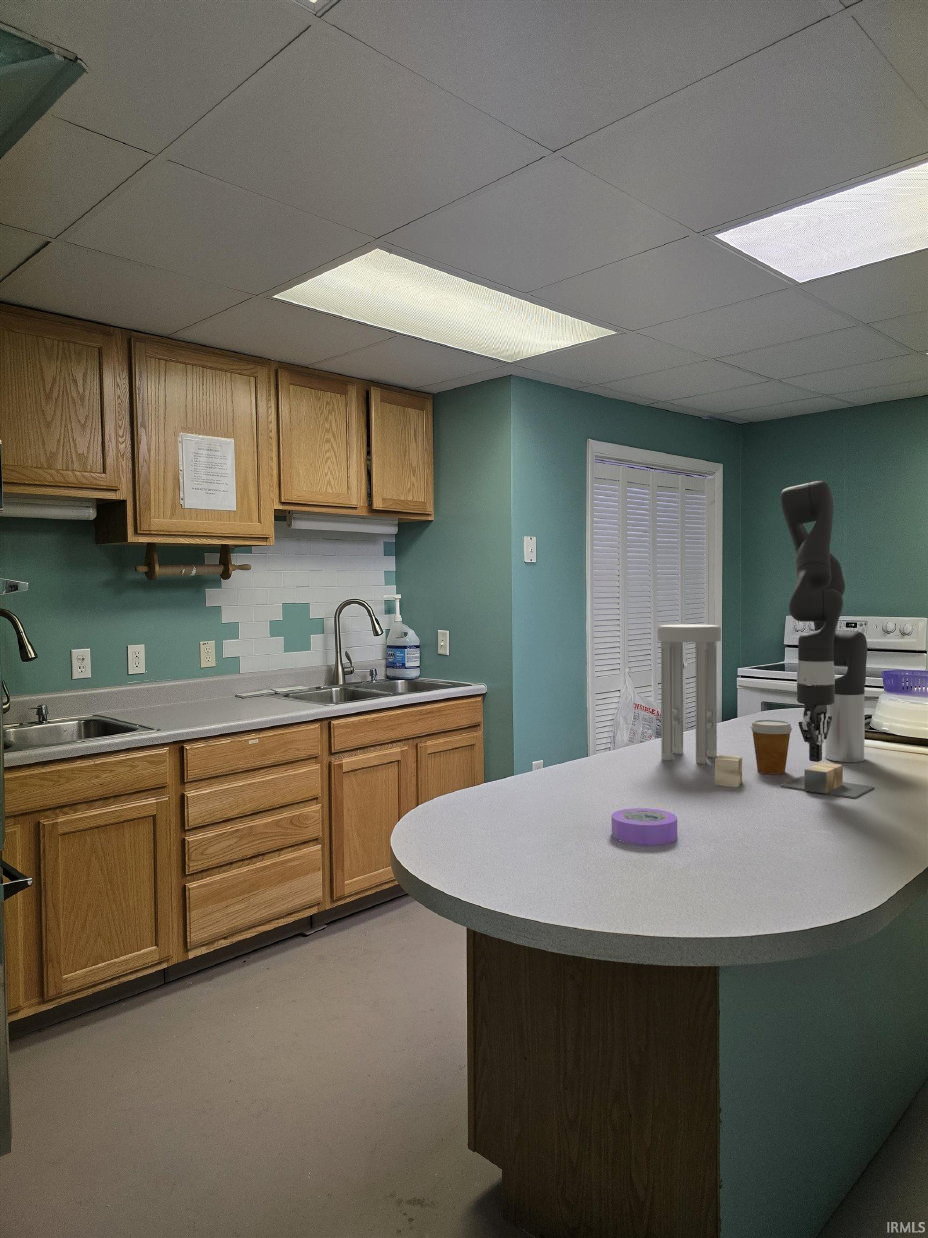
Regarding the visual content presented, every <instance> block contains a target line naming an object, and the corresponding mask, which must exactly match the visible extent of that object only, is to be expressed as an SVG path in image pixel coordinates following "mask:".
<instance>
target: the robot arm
mask: <svg viewBox="0 0 928 1238" xmlns="http://www.w3.org/2000/svg"><path fill="white" fill-rule="evenodd" d="M833 499H834V498H833V494H832V491H831V488H830V486H829V484H828V483H827V482H826V481H824V480H818V481H817V480H816V481H812V482H806V483H803V484H799V485H794V486H790V487H789V486H788V487H786V488H784V489H782V491H781V493H780V506H781V511H782V514H783V517H784V520H785V523H786V525H787V528H788V532H789V534H790V538H791V540H792V543H793V546H794V550H795V553H796V559H795V565H796V566H795V567H796V569H795V570H796V582H795V585H794V587H793V592H792V594H791V596H790V599H789V604H788V610H789V614H790V616H791V617H792V618H793V619H794V620H796V622H803V623H807V622H808V623H809V622H810V623H811V622H812V623H813V628H814V631H810V632H805V633H802V634H800V635H799V637H798V641H797V642H798V643H797V645H798V646H797V655H798V656H797V660H798V661H797V666H796V667H797V668H796V701H797V703H798V704H802V705H804V710H803V713H802V717H803V718H802V719H803V720H799V721H798V727H799V730H800V733H801V735H802V739H803V741H804V743H807V744H808V746H809V747H808V750H809V751H808V757H809V758H808V760H809V761H810V762H813V763H814V762H815V763H820V762H822V761H823V744H824V743H825V745H824V746H825V747H824V751H825V752H824V758H825V759H827V760H830V761H833V762H840V763H842V762H843V763H861V762H864V761H865V710H866V709H865V691H866V690H865V688H866V687H865V686H866V680H867V678H866V677H867V661H868V660H867V659H868V641H867V637H866V635H865V634H864V633H863V632H862V631H858V630H837V626H838V624H839V621H840V617H841V614H842V612H843V607H844V599H843V596H844V593H845V590H846V583H845V579H844V575H843V570H842V566H841V563H840V562H839V560H838V559H837V558H836V557H835V556H834V554H832V553H831V552H830V550H831V539H832V532H833V531H832V530H833V521H834V500H833ZM813 522H815V523H814V525H813V527H812V529H811V530H810V532H808V530H807V529H806V526H805V525H804V524H808V523H813ZM835 667H844V668H847V670H846V673H845V674H844V675H842V676H840V677H838V678H836V673H835V671H836V670H835Z"/></svg>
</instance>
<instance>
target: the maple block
mask: <svg viewBox="0 0 928 1238" xmlns="http://www.w3.org/2000/svg"><path fill="white" fill-rule="evenodd" d="M714 768H715V769H714V773H715V774H714V780H715V781H714V782H715V783H714V784H715V786H725V787H733V788H738V787H740V785H741V784H742V783H743V756H737V755H726V754H725V755H724V754H719V755H717V756H716V757H715V759H714Z"/></svg>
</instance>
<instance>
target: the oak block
mask: <svg viewBox="0 0 928 1238" xmlns="http://www.w3.org/2000/svg"><path fill="white" fill-rule="evenodd" d="M843 766H844V765H843V764H841V763H840V764H838V763H831V762H824V761H820V762H818V763H817V764H814V765H812V766H809V767H807V768H805V769H803V770H804V771H803V772H804V775H803V776H804V790H809V791H808V792H810V791H815V792H814V793H816V792H821V793H820V794H822V793H827V792H829V791H831V790H833V789H835V788H837V787H839V786H841V785H843V782H844V780H843V779H844V778H843V777H844V776H843V775H844V773H843V772H844V767H843ZM804 790H803V791H804Z"/></svg>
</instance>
